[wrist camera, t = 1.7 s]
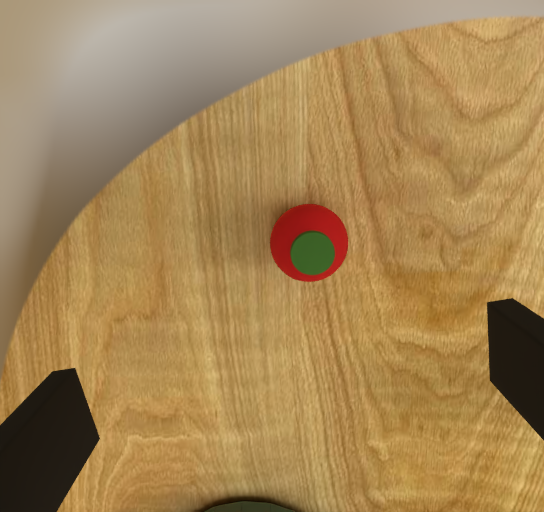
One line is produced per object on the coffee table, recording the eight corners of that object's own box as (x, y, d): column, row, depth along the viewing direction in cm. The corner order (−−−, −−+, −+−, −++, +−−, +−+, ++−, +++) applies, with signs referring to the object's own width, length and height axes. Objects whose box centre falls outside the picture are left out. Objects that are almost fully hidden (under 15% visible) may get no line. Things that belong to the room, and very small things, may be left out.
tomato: (259, 252, 29) (256, 275, 24) (287, 187, 28) (290, 197, 23) (322, 278, 29) (333, 306, 24) (353, 215, 28) (370, 232, 23)
